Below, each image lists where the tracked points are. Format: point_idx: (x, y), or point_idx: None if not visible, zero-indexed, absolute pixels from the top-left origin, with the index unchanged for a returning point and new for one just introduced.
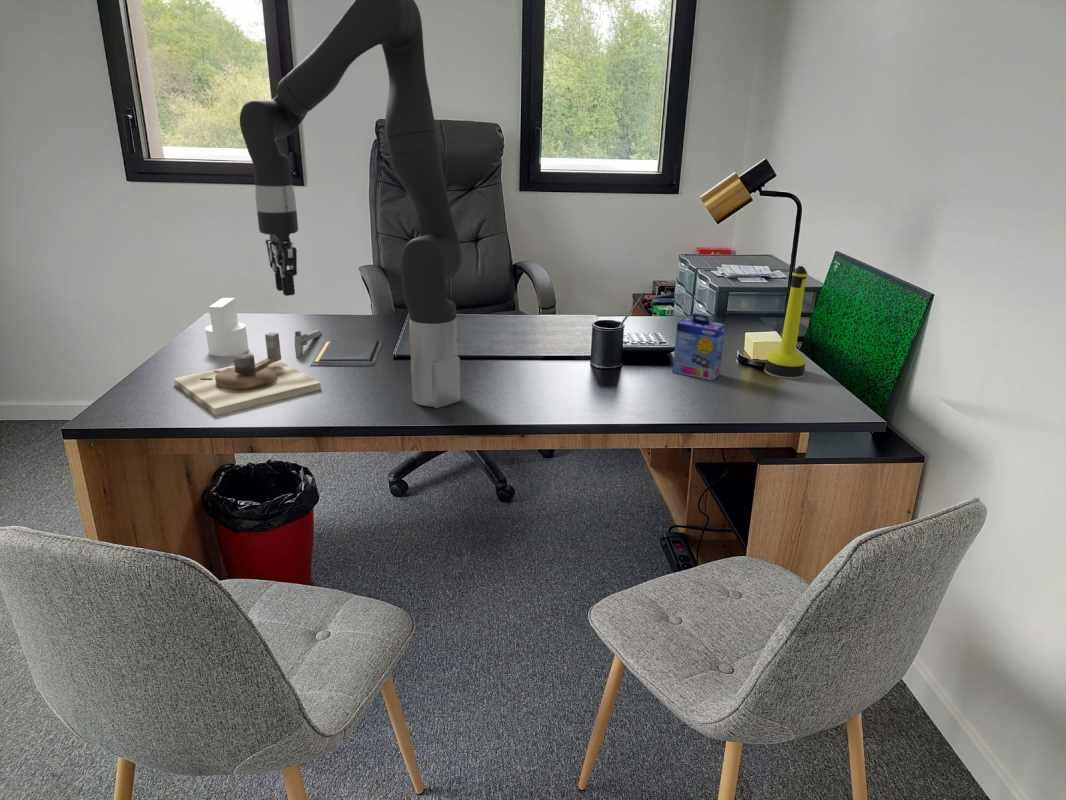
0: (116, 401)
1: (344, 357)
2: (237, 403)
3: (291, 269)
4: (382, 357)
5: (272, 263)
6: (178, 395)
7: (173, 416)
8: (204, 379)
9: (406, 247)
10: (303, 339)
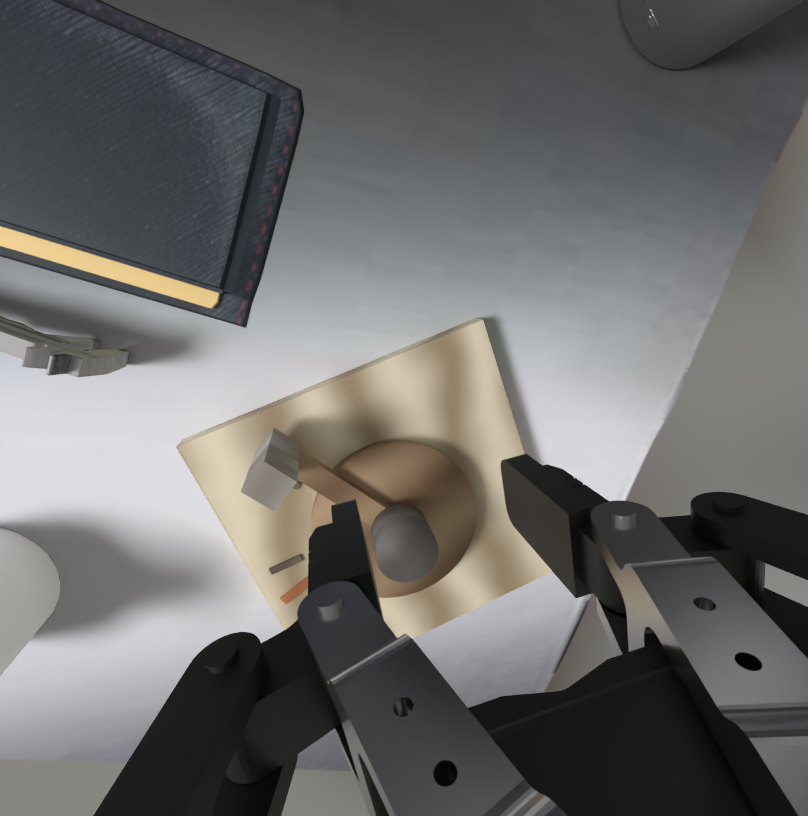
0: None
1: (225, 191)
2: None
3: (755, 560)
4: (196, 18)
5: (289, 769)
6: None
7: (519, 632)
8: None
9: None
10: (26, 333)
